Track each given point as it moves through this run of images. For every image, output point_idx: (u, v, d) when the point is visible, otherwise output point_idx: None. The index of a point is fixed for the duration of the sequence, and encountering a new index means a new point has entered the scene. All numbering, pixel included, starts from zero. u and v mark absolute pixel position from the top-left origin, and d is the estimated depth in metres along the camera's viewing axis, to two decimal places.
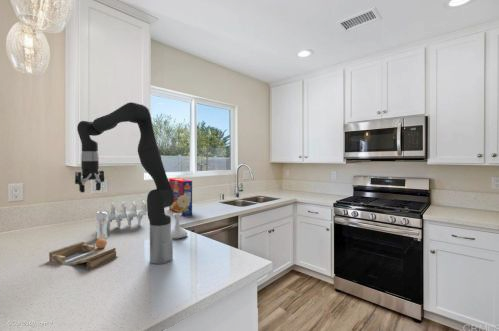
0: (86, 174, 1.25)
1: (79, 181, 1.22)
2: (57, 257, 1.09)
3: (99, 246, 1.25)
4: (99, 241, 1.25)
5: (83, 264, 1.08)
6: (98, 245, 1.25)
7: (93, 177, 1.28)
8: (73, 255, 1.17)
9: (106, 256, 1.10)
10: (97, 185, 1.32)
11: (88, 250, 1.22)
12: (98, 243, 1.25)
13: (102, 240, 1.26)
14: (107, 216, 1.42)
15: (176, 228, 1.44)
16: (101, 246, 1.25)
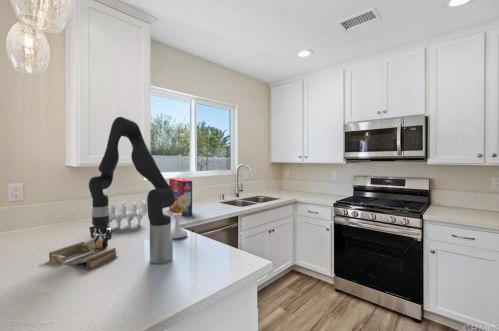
0: None
1: None
2: (57, 257, 1.09)
3: (99, 246, 1.25)
4: (99, 241, 1.25)
5: (83, 264, 1.08)
6: (98, 245, 1.25)
7: None
8: (73, 255, 1.17)
9: (106, 256, 1.10)
10: None
11: (88, 250, 1.22)
12: (98, 243, 1.25)
13: (102, 240, 1.26)
14: None
15: (176, 228, 1.44)
16: (101, 246, 1.25)
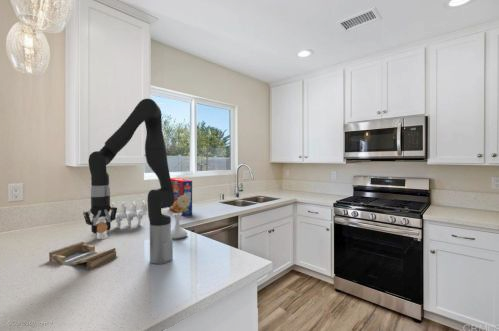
0: None
1: None
2: (57, 257, 1.09)
3: (106, 229, 1.13)
4: (104, 224, 1.13)
5: (83, 264, 1.08)
6: (105, 228, 1.12)
7: None
8: (73, 255, 1.17)
9: (106, 256, 1.10)
10: None
11: (88, 250, 1.22)
12: (105, 226, 1.12)
13: (104, 222, 1.14)
14: None
15: (176, 228, 1.44)
16: (106, 228, 1.14)
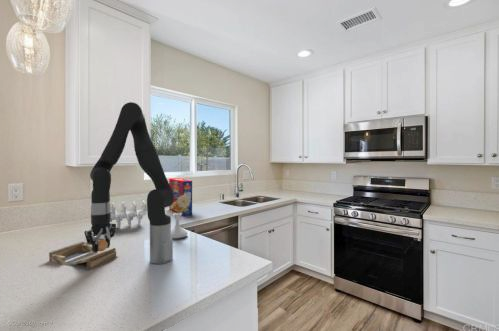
0: None
1: None
2: (57, 257, 1.09)
3: None
4: (105, 241, 1.10)
5: (83, 264, 1.08)
6: (106, 245, 1.10)
7: None
8: (73, 255, 1.17)
9: (106, 256, 1.10)
10: None
11: (88, 250, 1.22)
12: (106, 243, 1.10)
13: (104, 240, 1.11)
14: None
15: (176, 228, 1.44)
16: None
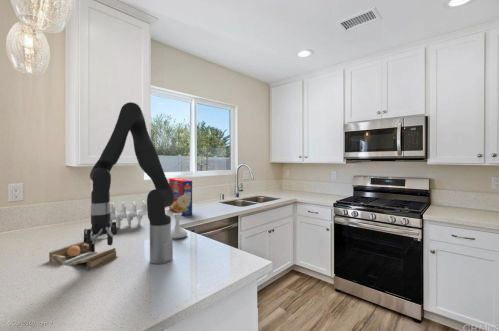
0: None
1: None
2: (57, 257, 1.09)
3: (77, 246, 1.17)
4: None
5: (83, 264, 1.08)
6: None
7: None
8: None
9: (106, 256, 1.10)
10: None
11: (88, 250, 1.22)
12: None
13: None
14: None
15: (176, 228, 1.44)
16: (78, 247, 1.18)
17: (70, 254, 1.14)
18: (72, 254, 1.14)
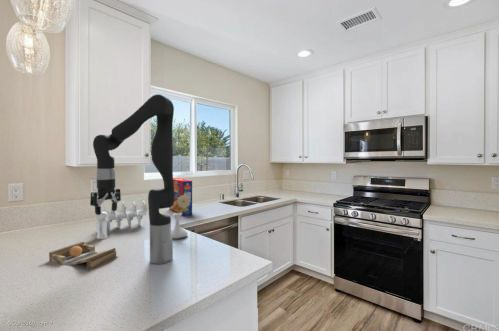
0: None
1: None
2: (57, 257, 1.09)
3: (80, 247, 1.16)
4: None
5: (83, 264, 1.08)
6: (78, 246, 1.16)
7: None
8: None
9: (106, 256, 1.10)
10: None
11: (88, 250, 1.22)
12: (77, 246, 1.16)
13: None
14: (107, 216, 1.42)
15: (176, 228, 1.44)
16: (81, 248, 1.17)
17: (71, 256, 1.14)
18: (73, 256, 1.14)
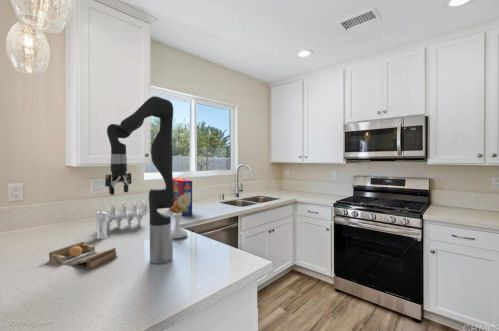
0: None
1: None
2: (57, 257, 1.09)
3: (80, 247, 1.16)
4: None
5: (83, 264, 1.08)
6: (78, 246, 1.16)
7: None
8: None
9: (106, 256, 1.10)
10: None
11: (88, 250, 1.22)
12: (77, 246, 1.16)
13: None
14: (107, 216, 1.42)
15: (176, 228, 1.44)
16: (81, 248, 1.17)
17: (71, 255, 1.14)
18: (73, 256, 1.14)
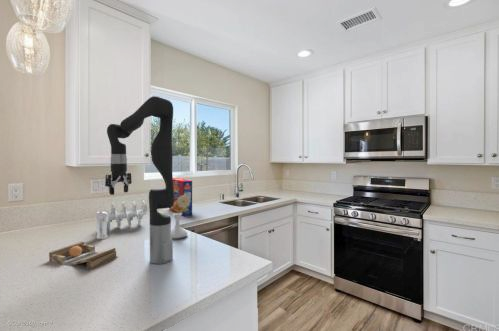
0: None
1: None
2: (57, 257, 1.09)
3: (79, 247, 1.16)
4: None
5: (83, 264, 1.08)
6: (78, 246, 1.16)
7: None
8: None
9: (106, 256, 1.10)
10: None
11: (88, 250, 1.22)
12: (76, 246, 1.16)
13: None
14: (107, 216, 1.42)
15: (176, 228, 1.44)
16: (81, 249, 1.17)
17: (71, 255, 1.14)
18: (73, 255, 1.14)
